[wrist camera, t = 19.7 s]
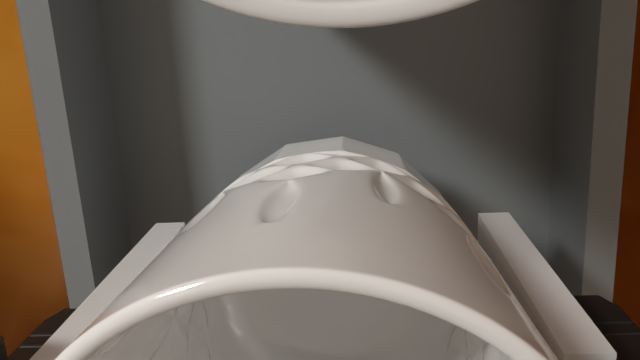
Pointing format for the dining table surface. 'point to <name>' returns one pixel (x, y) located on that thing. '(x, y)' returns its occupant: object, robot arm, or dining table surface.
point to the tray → (332, 115)
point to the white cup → (319, 273)
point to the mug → (339, 11)
